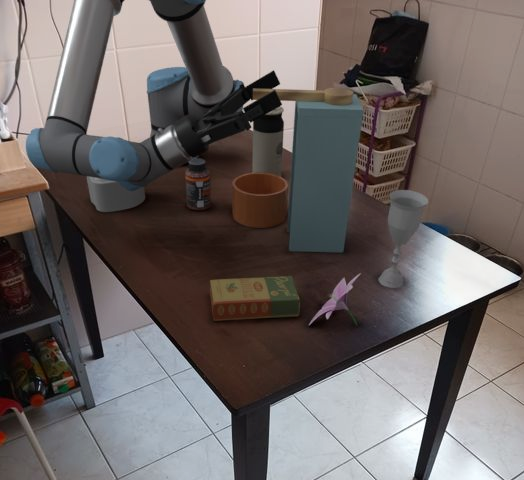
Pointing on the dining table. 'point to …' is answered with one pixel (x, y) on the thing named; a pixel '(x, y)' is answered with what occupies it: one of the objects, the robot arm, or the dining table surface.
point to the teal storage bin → (322, 174)
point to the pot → (259, 199)
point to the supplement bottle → (198, 185)
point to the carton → (254, 298)
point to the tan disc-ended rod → (310, 95)
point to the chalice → (402, 229)
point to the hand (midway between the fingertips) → (278, 86)
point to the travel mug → (268, 143)
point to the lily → (337, 299)
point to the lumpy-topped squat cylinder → (113, 195)
